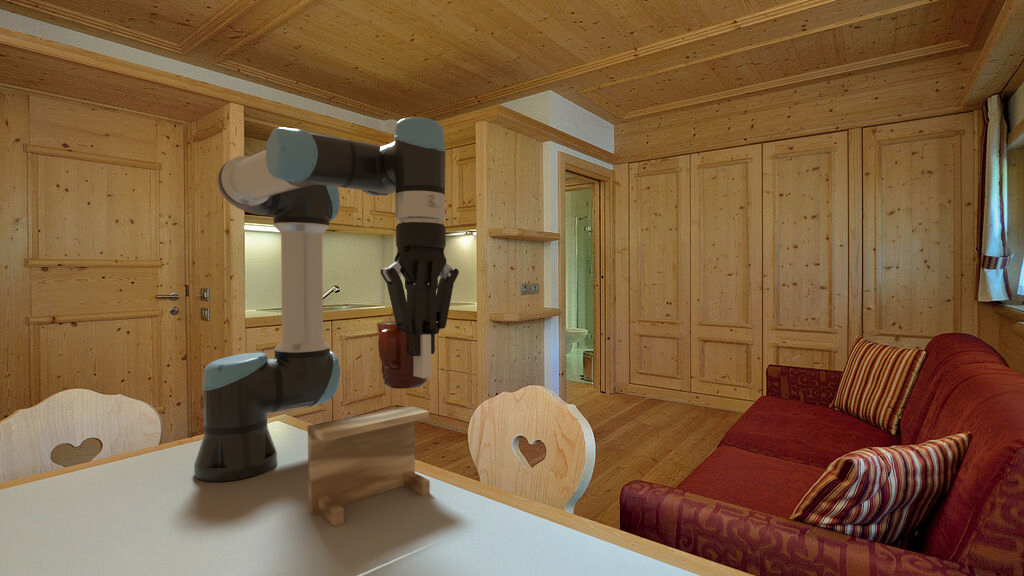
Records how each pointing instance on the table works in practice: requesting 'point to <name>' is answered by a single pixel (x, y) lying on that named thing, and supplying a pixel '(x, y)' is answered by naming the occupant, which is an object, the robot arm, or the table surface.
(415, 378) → the mug
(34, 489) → the table surface
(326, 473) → the wooden standing sign
